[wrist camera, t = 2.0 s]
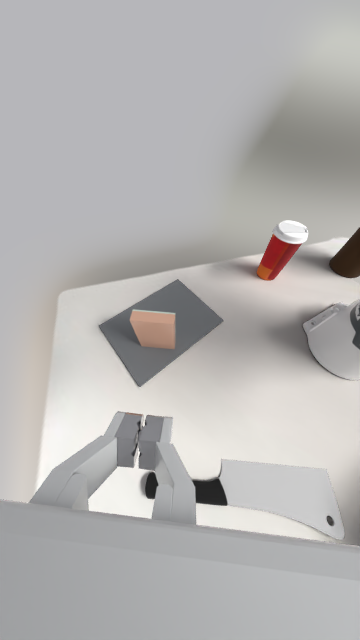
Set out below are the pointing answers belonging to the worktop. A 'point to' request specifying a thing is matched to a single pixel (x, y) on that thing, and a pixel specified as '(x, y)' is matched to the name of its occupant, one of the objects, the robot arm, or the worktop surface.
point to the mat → (190, 328)
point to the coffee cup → (281, 248)
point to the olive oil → (348, 258)
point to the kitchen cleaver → (271, 492)
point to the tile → (154, 328)
